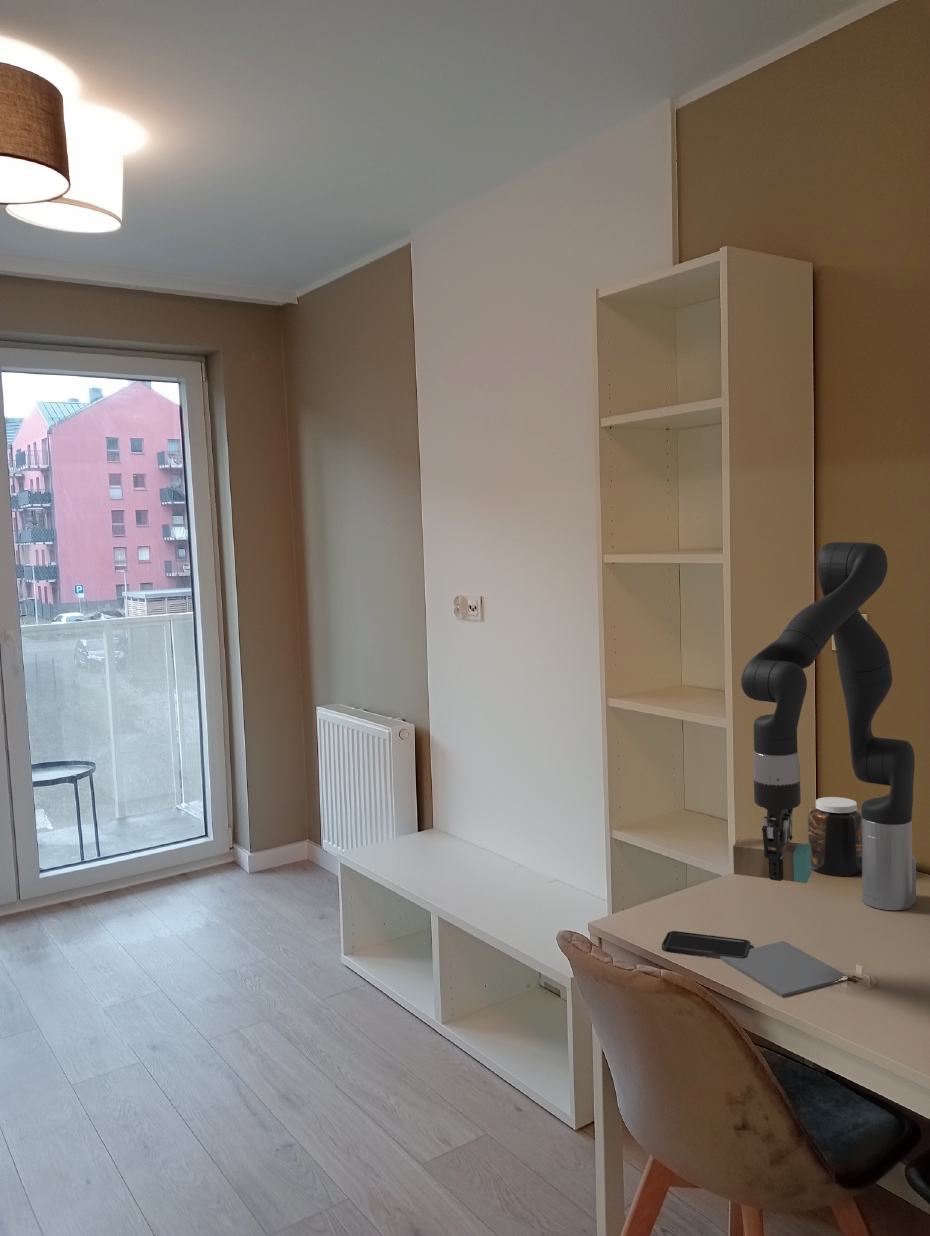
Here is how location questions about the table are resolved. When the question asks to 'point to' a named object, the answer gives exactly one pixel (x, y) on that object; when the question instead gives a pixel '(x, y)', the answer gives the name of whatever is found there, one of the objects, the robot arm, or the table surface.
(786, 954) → the grey mat
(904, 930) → the table surface
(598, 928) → the table surface
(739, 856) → the walnut block
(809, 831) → the jar
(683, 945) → the phone
